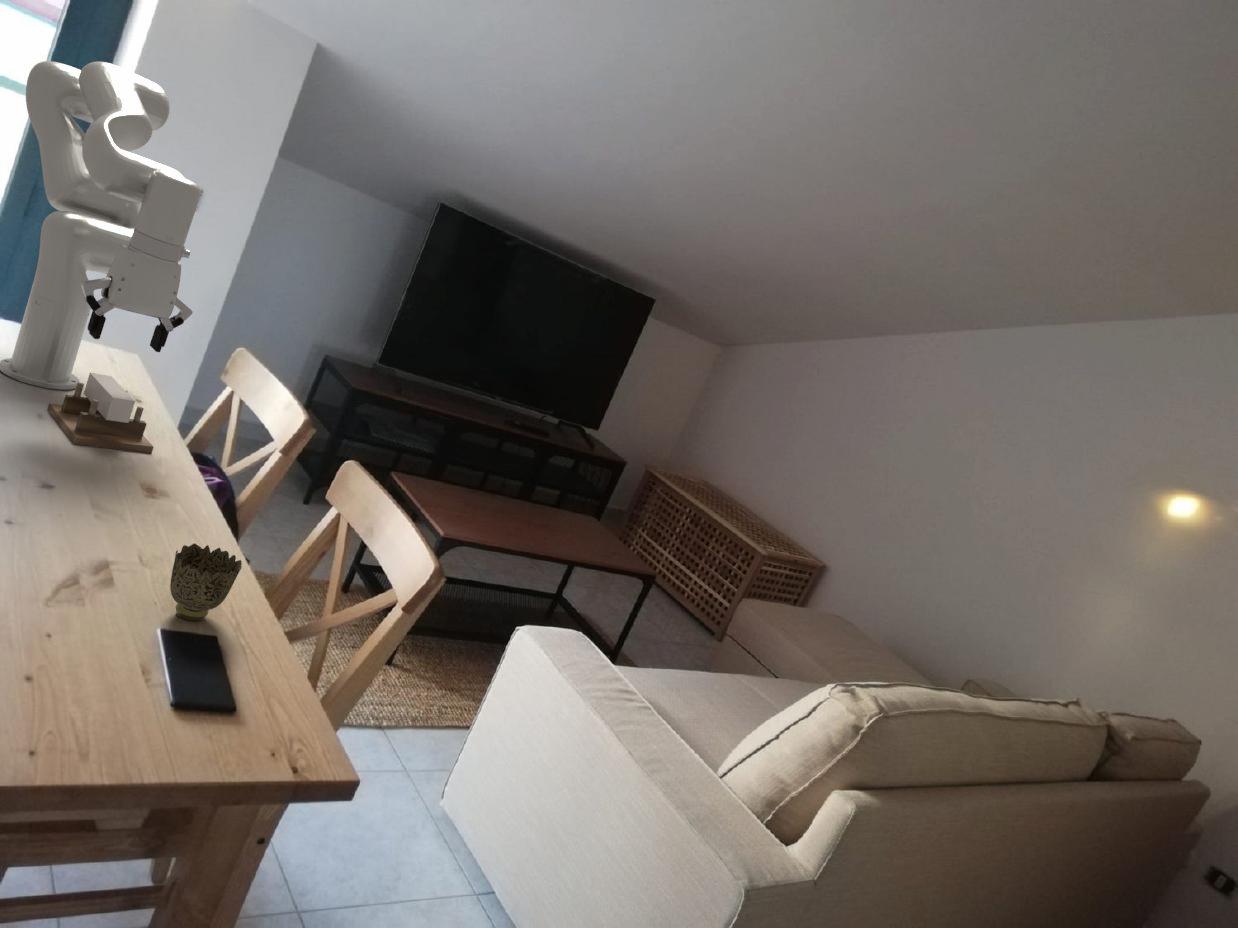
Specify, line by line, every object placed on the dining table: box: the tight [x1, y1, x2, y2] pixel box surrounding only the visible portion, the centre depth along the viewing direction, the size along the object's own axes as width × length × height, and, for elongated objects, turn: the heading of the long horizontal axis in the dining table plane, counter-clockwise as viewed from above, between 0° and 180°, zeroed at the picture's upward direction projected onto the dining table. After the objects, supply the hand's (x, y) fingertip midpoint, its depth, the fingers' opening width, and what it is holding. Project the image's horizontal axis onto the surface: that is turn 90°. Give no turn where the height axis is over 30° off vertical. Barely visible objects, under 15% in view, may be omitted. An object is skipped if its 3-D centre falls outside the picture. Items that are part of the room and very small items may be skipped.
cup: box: [169, 543, 243, 622], centre depth 104 cm, size 8×7×8 cm
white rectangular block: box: [83, 372, 136, 423], centre depth 147 cm, size 12×4×4 cm, turn 49°
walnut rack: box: [47, 381, 154, 454], centre depth 147 cm, size 15×12×7 cm
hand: (125, 343), depth 145 cm, fingers open, 9 cm apart
